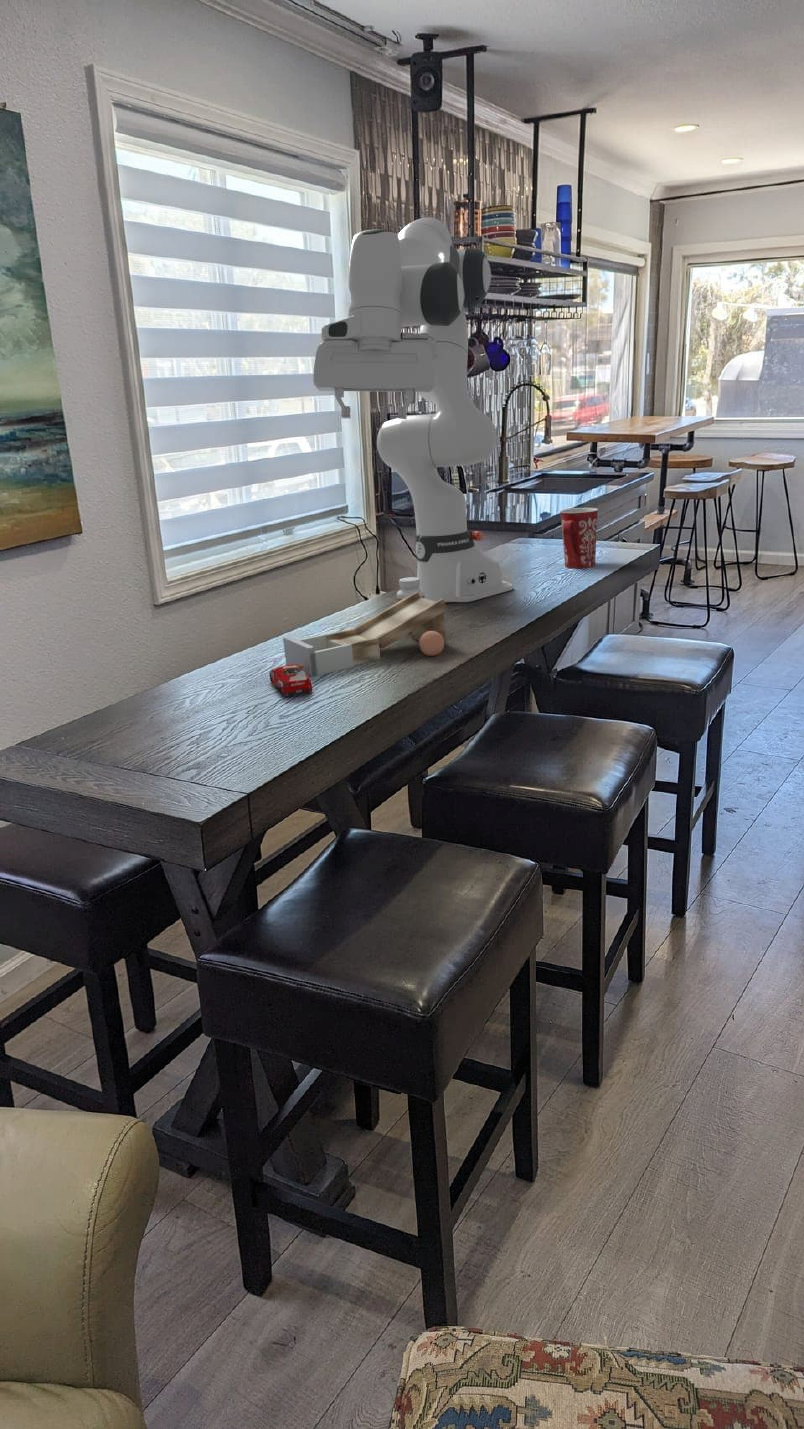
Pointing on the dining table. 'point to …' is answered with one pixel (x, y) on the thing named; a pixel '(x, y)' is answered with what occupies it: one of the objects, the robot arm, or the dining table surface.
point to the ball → (431, 643)
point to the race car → (290, 680)
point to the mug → (579, 536)
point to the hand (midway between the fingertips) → (374, 418)
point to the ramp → (391, 627)
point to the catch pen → (317, 655)
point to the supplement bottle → (409, 588)
